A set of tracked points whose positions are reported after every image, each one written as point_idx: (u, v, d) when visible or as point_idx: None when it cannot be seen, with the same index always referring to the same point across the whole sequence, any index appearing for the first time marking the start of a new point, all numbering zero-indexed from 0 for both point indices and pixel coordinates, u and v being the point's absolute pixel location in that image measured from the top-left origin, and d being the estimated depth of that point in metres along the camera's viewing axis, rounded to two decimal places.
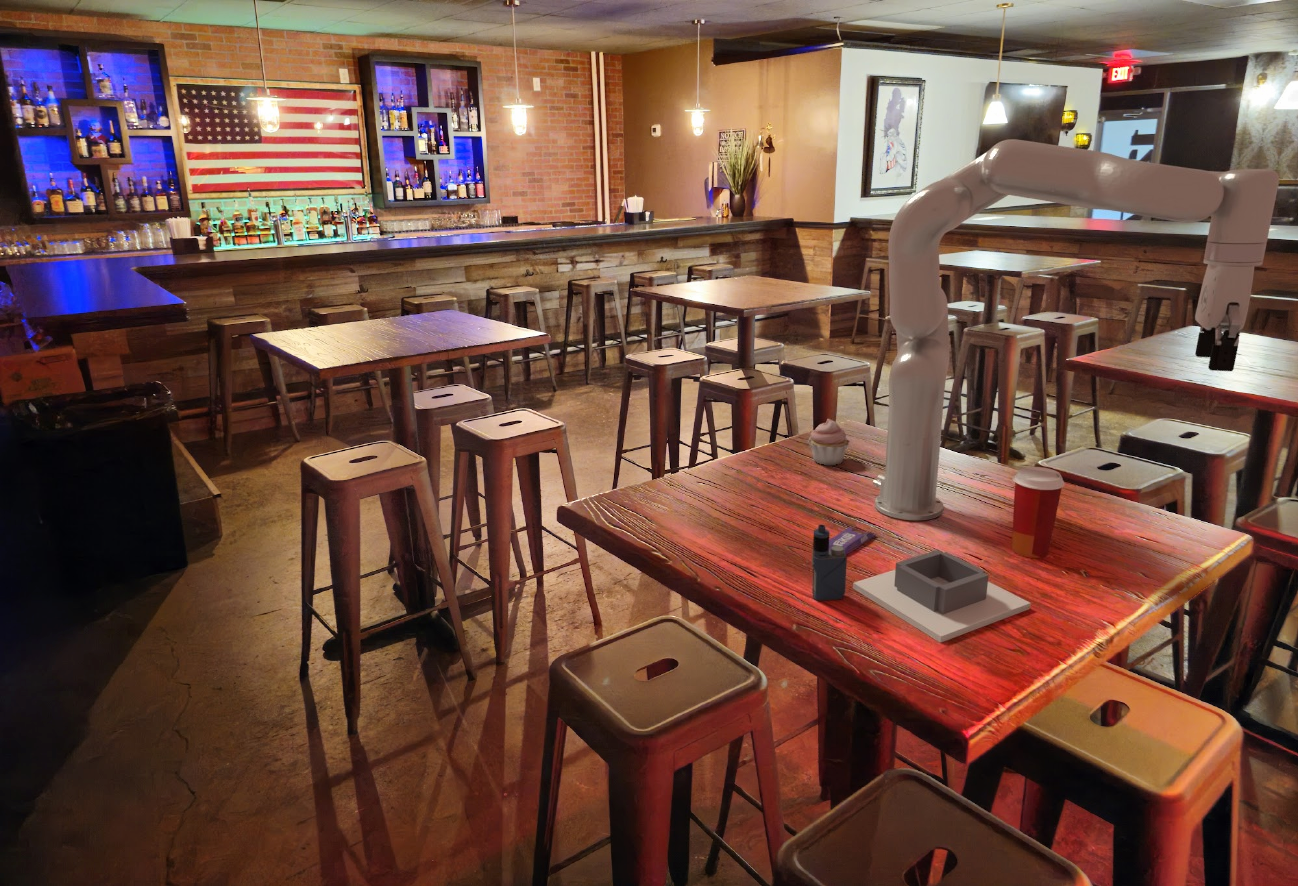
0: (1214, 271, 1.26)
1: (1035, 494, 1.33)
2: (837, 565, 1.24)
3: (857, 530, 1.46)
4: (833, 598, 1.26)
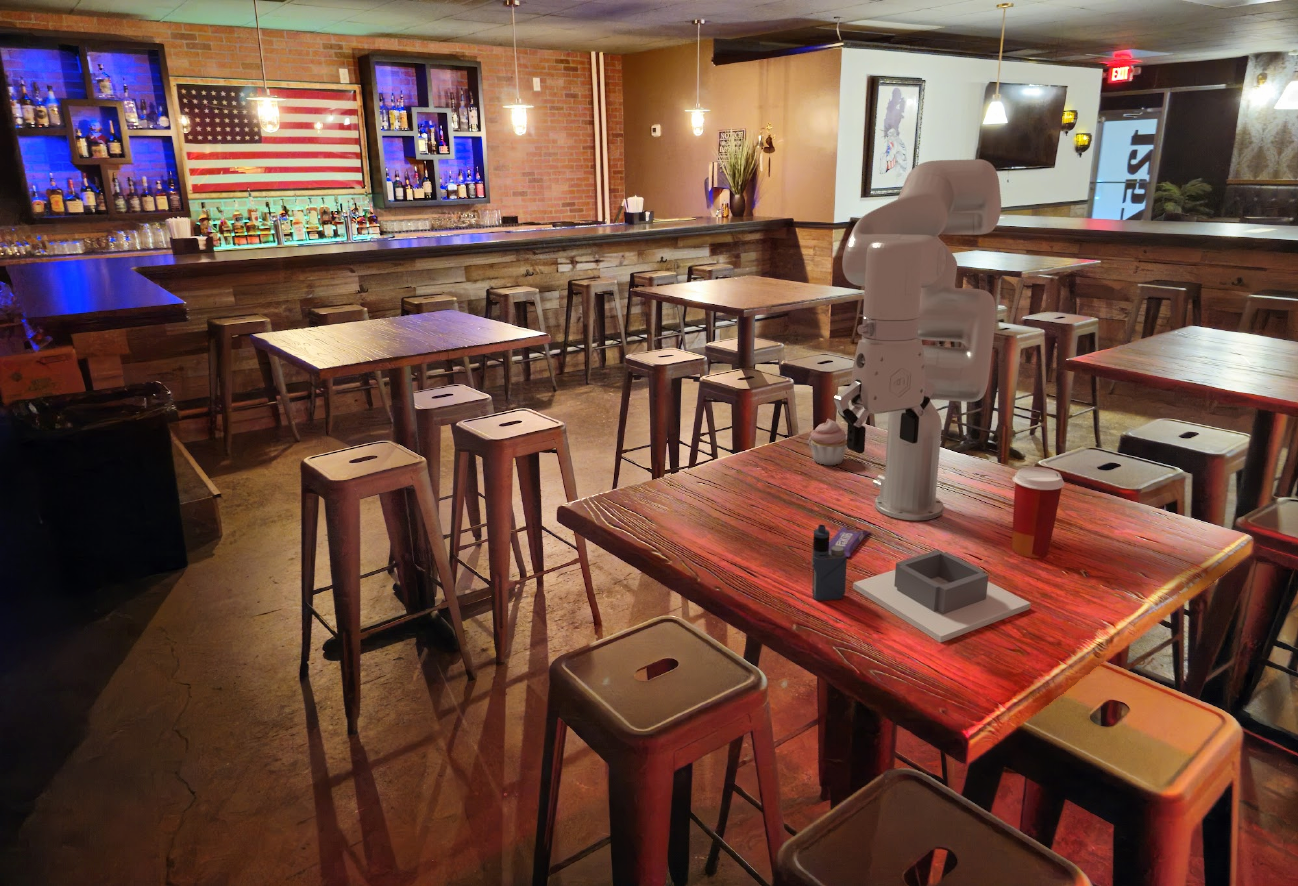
0: (914, 347, 1.15)
1: (1035, 494, 1.33)
2: (837, 565, 1.24)
3: (852, 529, 1.47)
4: (833, 598, 1.26)
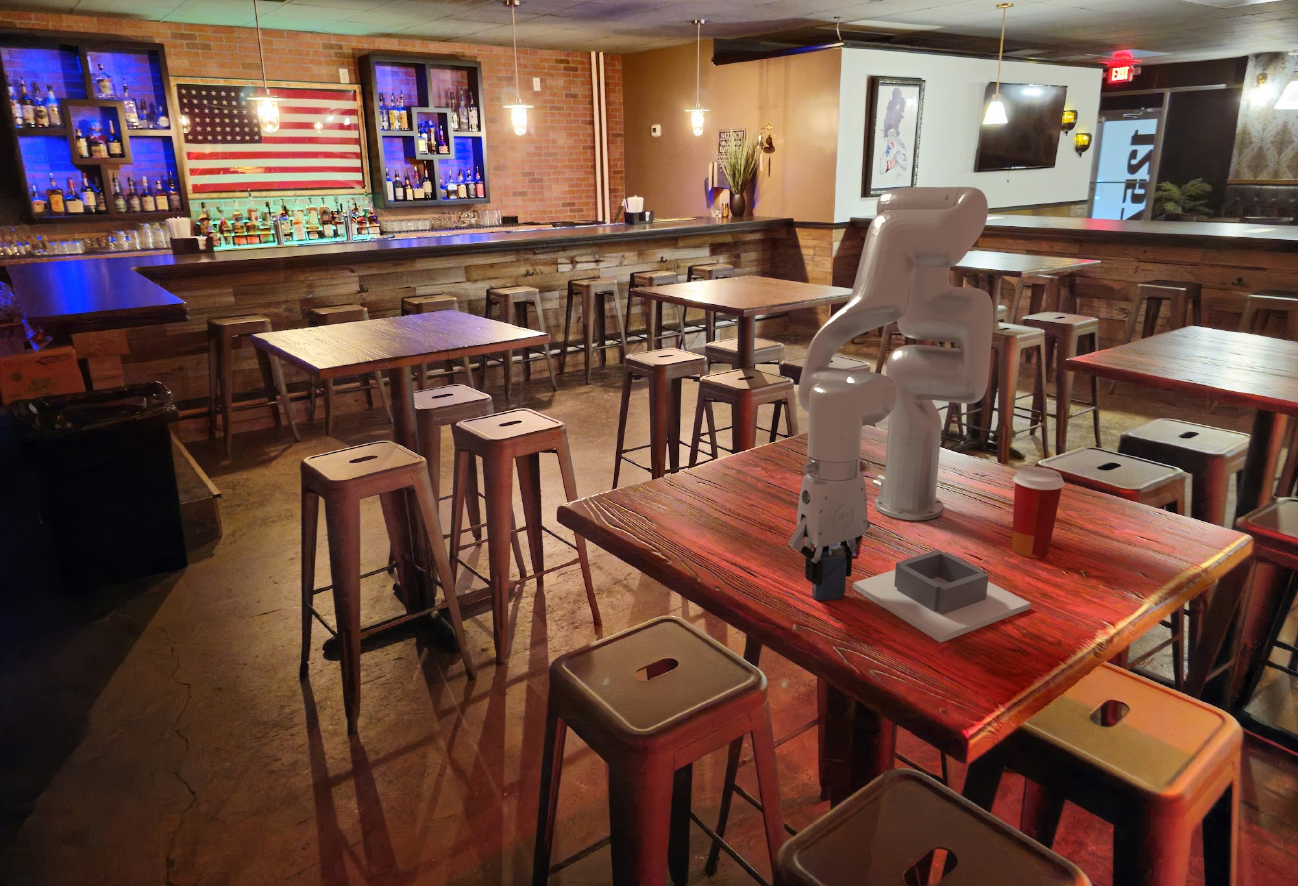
0: (856, 483, 1.20)
1: (1035, 494, 1.33)
2: (837, 565, 1.24)
3: None
4: (833, 598, 1.26)
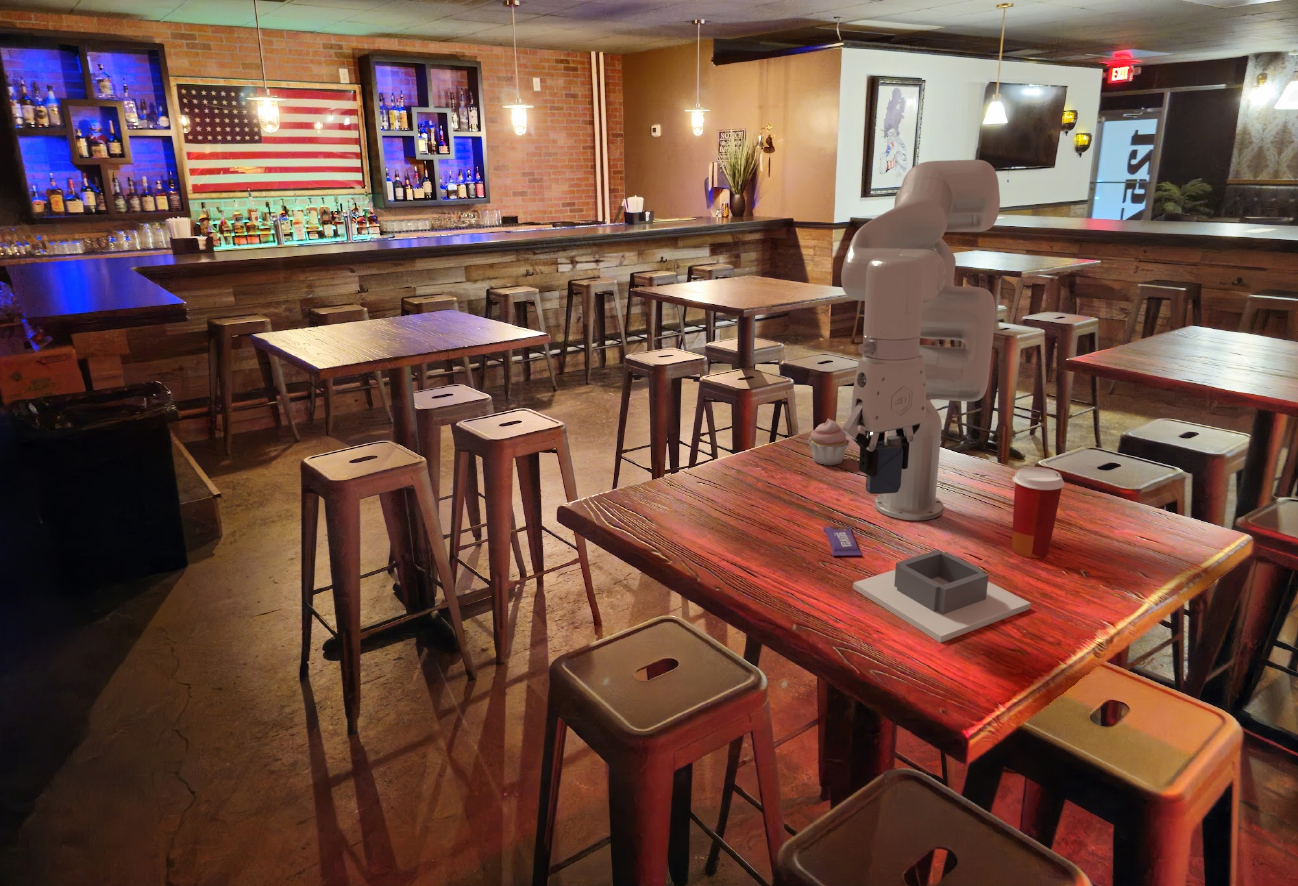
0: (915, 365, 1.13)
1: (1035, 494, 1.33)
2: (893, 455, 1.18)
3: (838, 528, 1.48)
4: (888, 491, 1.20)
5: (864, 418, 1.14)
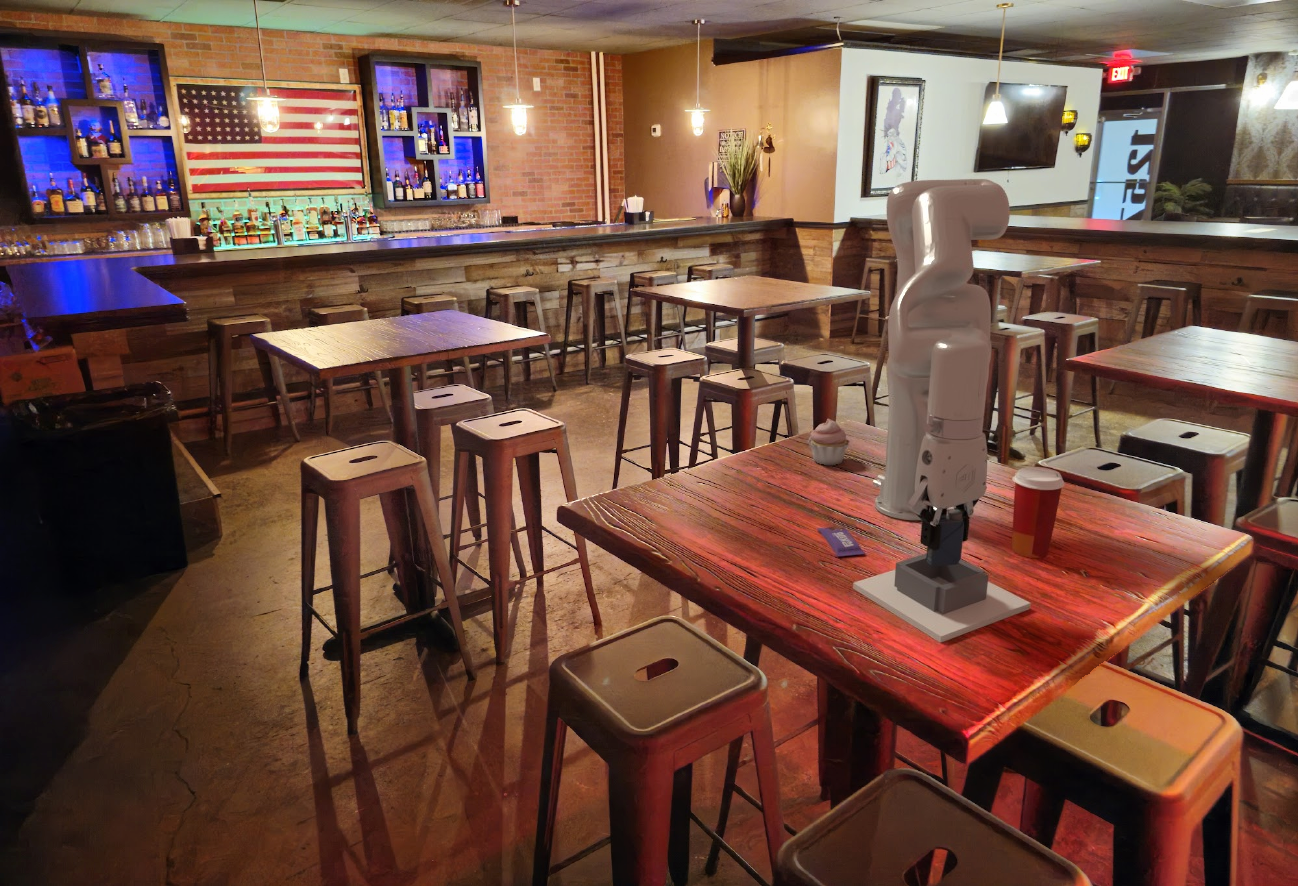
0: (978, 443, 1.16)
1: (1035, 494, 1.33)
2: (955, 529, 1.21)
3: (833, 528, 1.48)
4: (949, 563, 1.22)
5: (929, 495, 1.16)
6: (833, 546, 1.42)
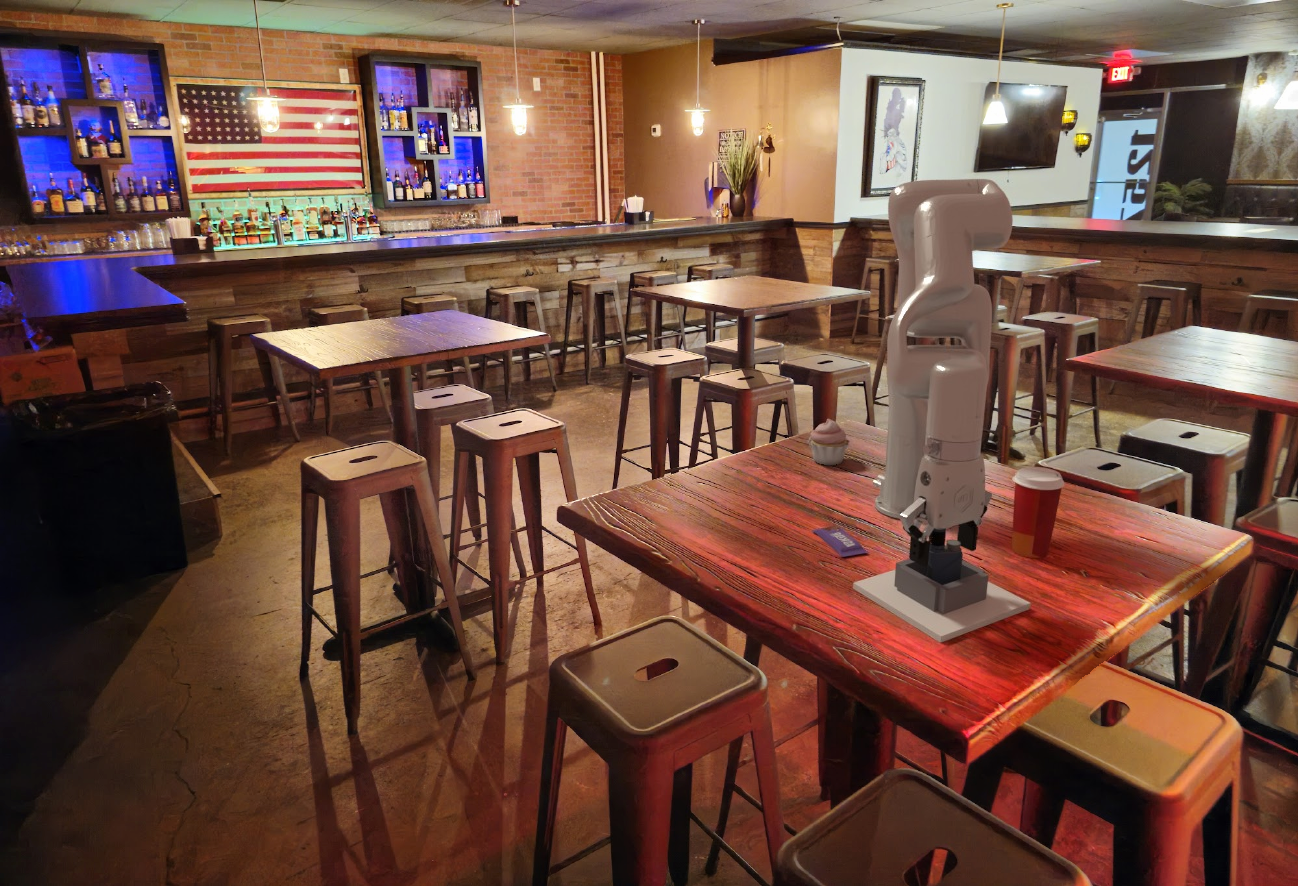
0: (976, 464, 1.17)
1: (1035, 494, 1.33)
2: (953, 560, 1.22)
3: (829, 528, 1.48)
4: None
5: (928, 515, 1.17)
6: (835, 547, 1.42)
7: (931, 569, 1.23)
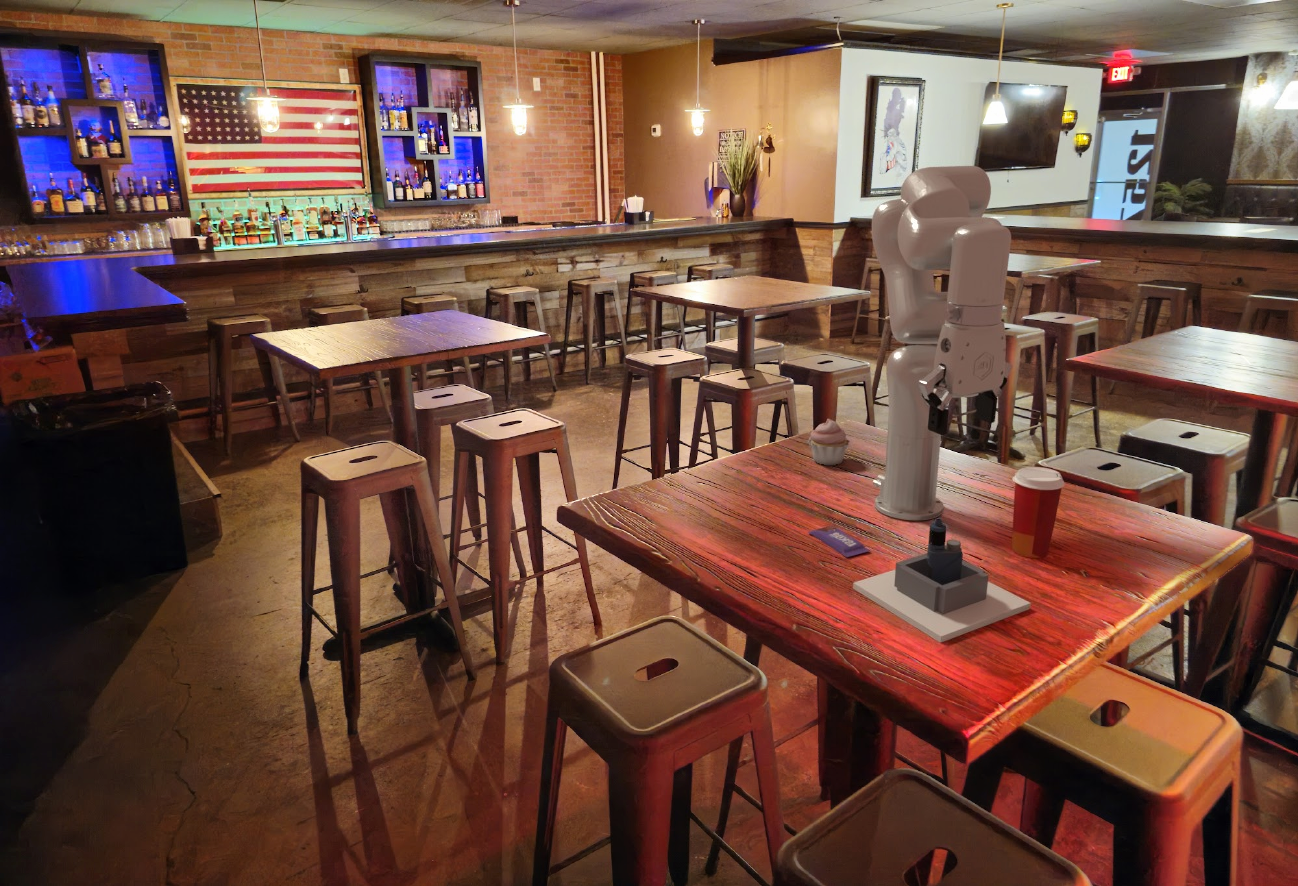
0: (997, 331, 1.17)
1: (1035, 494, 1.33)
2: (953, 560, 1.22)
3: (825, 529, 1.47)
4: None
5: (947, 382, 1.18)
6: (837, 547, 1.41)
7: (931, 569, 1.23)
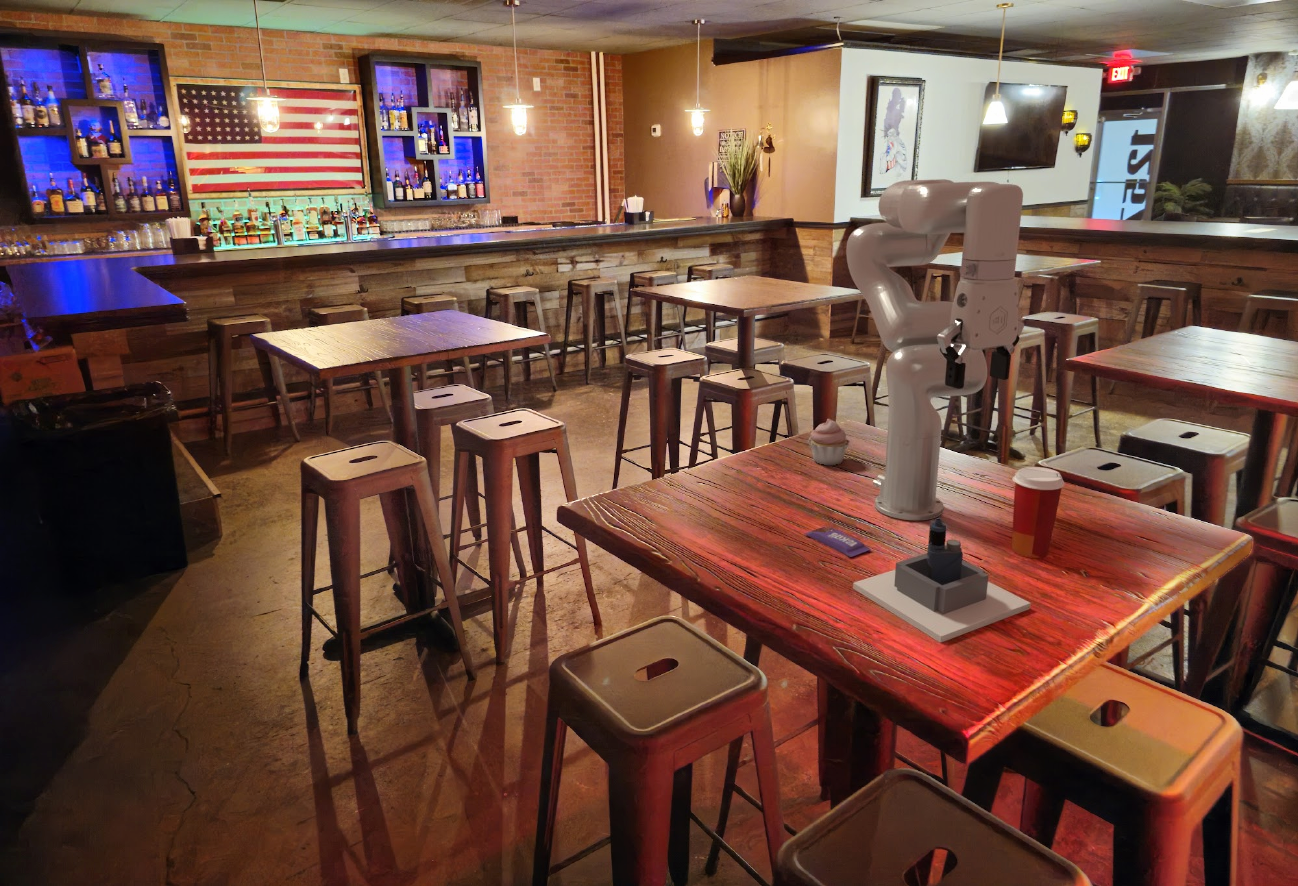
0: (1011, 287, 1.22)
1: (1035, 494, 1.33)
2: (953, 559, 1.22)
3: (823, 530, 1.47)
4: None
5: (964, 336, 1.22)
6: (838, 548, 1.41)
7: (931, 569, 1.23)
